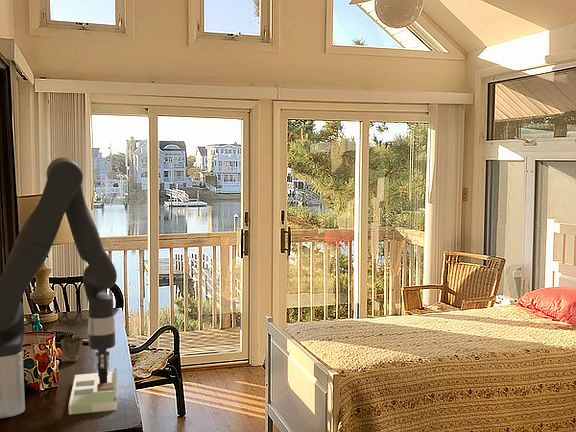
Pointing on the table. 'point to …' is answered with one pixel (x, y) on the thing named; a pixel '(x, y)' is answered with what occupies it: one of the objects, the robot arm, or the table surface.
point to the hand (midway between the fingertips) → (103, 388)
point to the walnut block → (105, 387)
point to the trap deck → (92, 394)
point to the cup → (71, 348)
